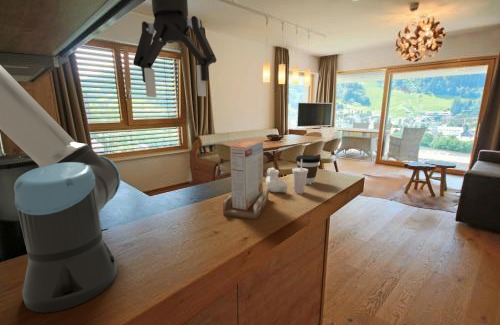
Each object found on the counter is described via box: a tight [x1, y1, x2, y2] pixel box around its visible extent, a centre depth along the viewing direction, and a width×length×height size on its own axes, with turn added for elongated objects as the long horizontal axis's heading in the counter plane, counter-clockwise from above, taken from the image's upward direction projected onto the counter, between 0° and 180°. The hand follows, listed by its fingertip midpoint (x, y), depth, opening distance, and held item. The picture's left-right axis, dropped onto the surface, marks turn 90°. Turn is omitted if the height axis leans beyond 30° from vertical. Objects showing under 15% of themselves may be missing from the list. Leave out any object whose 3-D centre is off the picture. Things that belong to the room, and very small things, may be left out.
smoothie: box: [291, 159, 308, 195], centre depth 101 cm, size 6×6×14 cm
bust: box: [265, 166, 288, 194], centre depth 103 cm, size 12×8×11 cm
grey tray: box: [222, 187, 270, 220], centre depth 88 cm, size 18×11×5 cm, turn 164°
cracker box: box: [229, 140, 264, 211], centre depth 85 cm, size 14×6×21 cm, turn 154°
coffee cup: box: [295, 154, 321, 185], centre depth 115 cm, size 11×11×12 cm
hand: (176, 96), depth 60 cm, fingers open, 13 cm apart
